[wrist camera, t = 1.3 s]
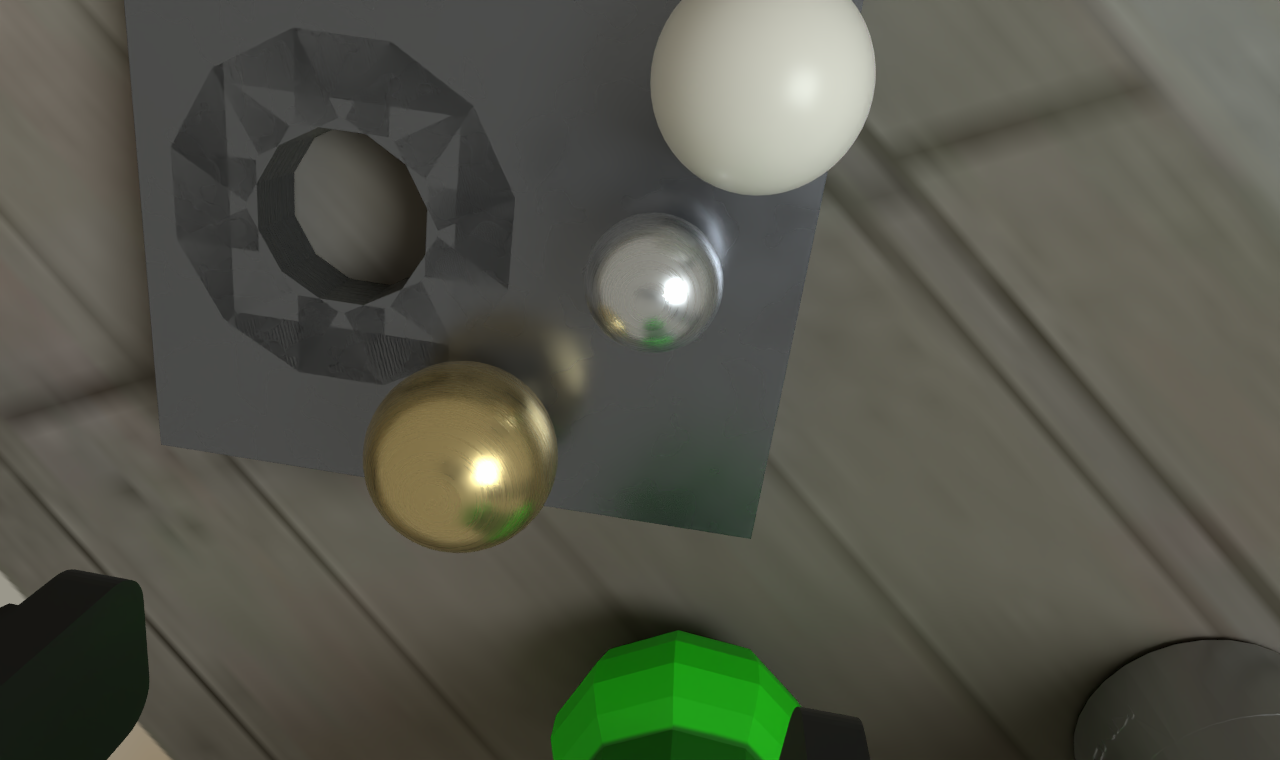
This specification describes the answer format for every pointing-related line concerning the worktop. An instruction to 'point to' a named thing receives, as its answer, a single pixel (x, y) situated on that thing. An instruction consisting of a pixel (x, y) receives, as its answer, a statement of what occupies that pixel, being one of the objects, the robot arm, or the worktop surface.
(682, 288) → the steel ball
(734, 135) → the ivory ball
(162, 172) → the plate
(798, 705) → the plastic bottle
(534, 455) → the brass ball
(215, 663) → the worktop surface
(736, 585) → the worktop surface
